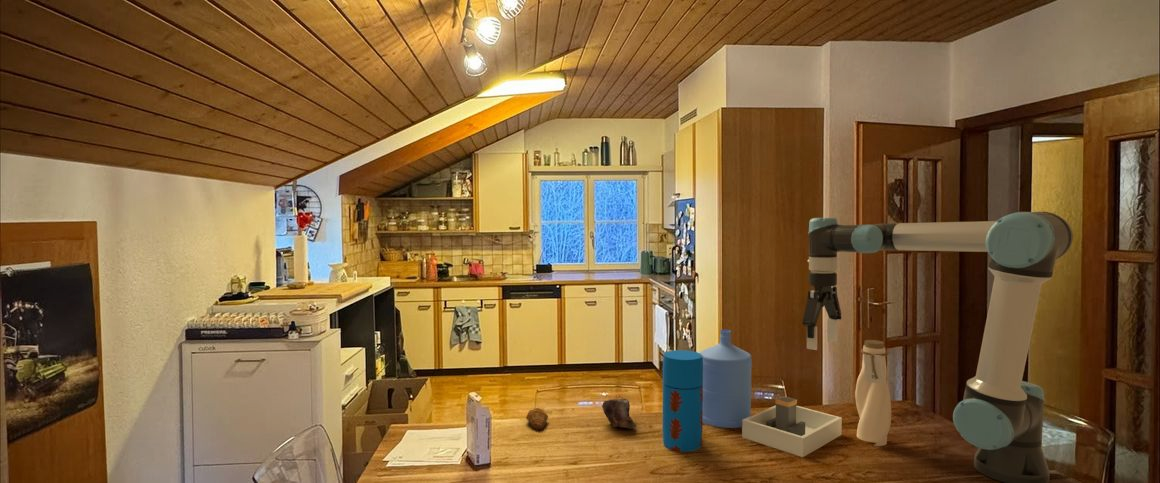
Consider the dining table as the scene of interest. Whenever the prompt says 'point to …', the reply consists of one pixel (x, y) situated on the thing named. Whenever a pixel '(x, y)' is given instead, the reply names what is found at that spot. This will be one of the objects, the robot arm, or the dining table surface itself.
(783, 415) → the grey tall block
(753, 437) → the box
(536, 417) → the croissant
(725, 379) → the water jug
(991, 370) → the robot arm
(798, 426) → the inlet
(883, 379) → the water bottle
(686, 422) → the thermos
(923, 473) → the dining table surface
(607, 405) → the rock
